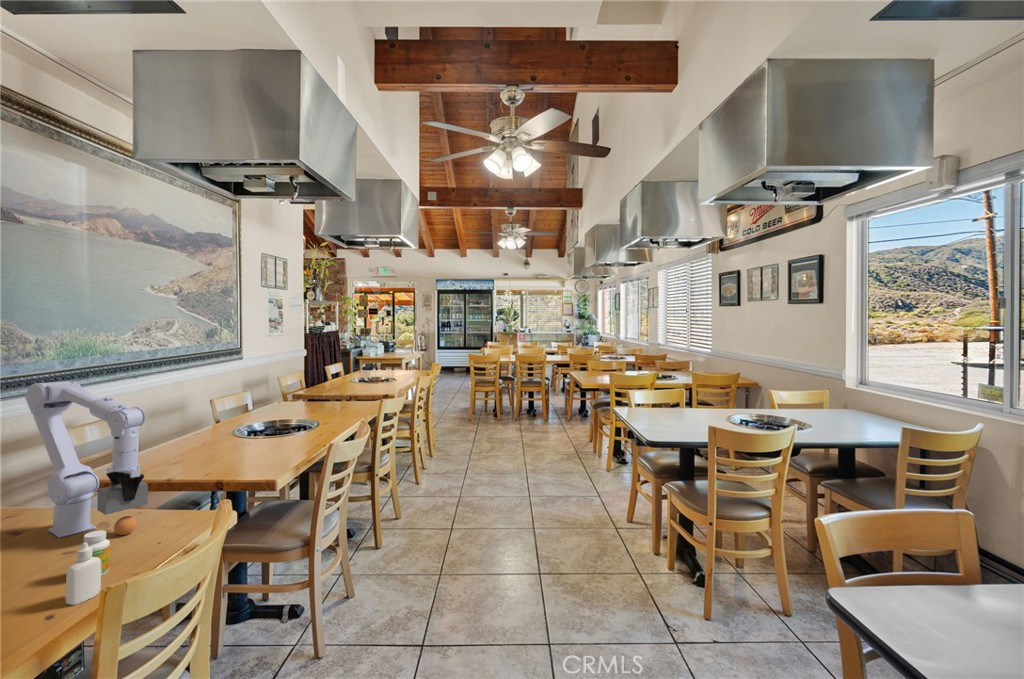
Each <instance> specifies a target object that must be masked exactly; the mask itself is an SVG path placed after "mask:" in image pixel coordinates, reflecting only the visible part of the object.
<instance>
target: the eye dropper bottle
mask: <svg viewBox="0 0 1024 679" xmlns="http://www.w3.org/2000/svg"><path fill="white" fill-rule="evenodd" d="M65 579H66V582H65V604H66V605H70V606H74V605H78V604H82V603H83V602H86V600H87V601H89V600H90V598H91V599H93V598H94V597H96V596H98V595H99V594H100V593H99V591H100V592H101V590H102V589H101V588H102V576H101V559H100V558H98V557H92V547H88V544H87V542H86V543H84V542H83V543H82V548H81V549H80V548H79V549H78V550H77V551H76V561H75V562H73V564H70V566H69V567H68V568H67V570H66V578H65ZM88 599H89V600H88ZM81 602H82V603H81Z"/></svg>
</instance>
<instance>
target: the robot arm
mask: <svg viewBox="0 0 1024 679" xmlns="http://www.w3.org/2000/svg"><path fill="white" fill-rule="evenodd" d="M24 399H25V401H26V403H27V406H28V409H29V410H30V413H31V415H33V416H32V417H33V419H34V422H35V425H36V427H37V429H38V432H39V436H40V437H41V439H42V443H43V445H44V447H45V449H46V452H47V455H48V457H49V460H50V462H51V464H52V467H53V470H54V473H52V475H51V476H50V477H49V478H48V479H47V480H46V484H47V488H48V490H47V495H48V498H49V500H51V502H53V504H55V505H54V507H53V517H52V518H53V519H52V520H53V522H52V523H53V524H52V527H49V528H48V531H49V532H50V533H52V534H53V535H54V536H56V537H58V538H64V537H69V536H72V535H75V534H79V533H83V532H87V531H92V530H94V529H96V528H97V526H95V525H94V524H92V523H91V515H92V514H91V511H92V509H91V507H92V506H91V505H92V497H95V493H96V492H98V489H99V487H100V480H99V479H100V478H99V476H98V475H96V474H95V472H94V471H93V469H92V467H91V466H89V465H85V464H82V463H80V459H79V458H78V454H77V453H76V451H75V448H74V445H73V443H72V440H71V438H70V434H69V432H68V430H67V427H66V424H65V422H64V419H63V417H62V414H63V413H64V412H65V411H67V410H68V409H69V408H70V407H71V405H73V403H74V404H76V405H78V406H82V407H84V408H87V409H88V410H89V413H90V415H92V416H93V417H95V418H98V419H100V420H101V421H104V422H106V423H107V426H108V428H109V429H110V435H111V437H112V462H111V466H110V467H107V468H106V472H107V473H106V476H107V478H108V479H109V481H110V484H111V486H114V485H118V484H121V487H122V492H123V498H124V501H125V502H126V501H131V500H134V499H135V496H136V493H137V489H138V487H139V484H140V482H141V481H143V479H144V478H145V474H143V473H141V469H140V463H139V452H140V450H139V449H140V448H139V447H140V427H141V426H143V425H144V423H145V420H146V416H145V412H144V410H143V409H141V408H140V407H138V406H133V407H128V406H127V405H126V404H124V403H123V404H121V403H120V402H117V401H116V400H114V398H113V397H110V396H107V397H104V396H103V397H98V396H96V395H94V394H92V393H91V392H90V391H88V390H86V389H84V388H82V386H81V384H80V383H78V382H76V381H74V380H70V379H69V380H64V381H55V382H54V381H50V382H34V383H32V384H31V385H29V387H28V389H27V391H26V393H25V395H24Z"/></svg>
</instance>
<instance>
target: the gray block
mask: <svg viewBox="0 0 1024 679" xmlns="http://www.w3.org/2000/svg"><path fill="white" fill-rule="evenodd" d="M148 488H149V483H148V482H145V481H143V480H142V481H141V482H140V484H139V487H138V489H137V493H136V496H135V499H134V500H131V501H126V502H125V501H124V498H123V492H122V487H121V484H118V485H114V486H112V485H110V486H106V487H101V488H98V489H97V511H98V512H100V513H101V514H103V515H105V516H107V515H111V514H115V513H119V512H123V511H126V510H130V509H134V508H138V507H141V506H147V505H148V504H149V503H148V500H149V497H148V496H149V495H148V492H149V489H148Z"/></svg>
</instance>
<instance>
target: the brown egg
mask: <svg viewBox="0 0 1024 679" xmlns="http://www.w3.org/2000/svg"><path fill="white" fill-rule="evenodd" d="M137 523H138V522H137V519H136V518H135V517H134V516H131V515H130V516H129V515H125V516H123V517H120V518H118V520H116V521H115V523H114V526H113V530H114V533H116V534H117V535H120V536H125V535H128V534H131V533H132V532H133V531H134V530H135V529H136V528H137V525H138V524H137Z"/></svg>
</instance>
